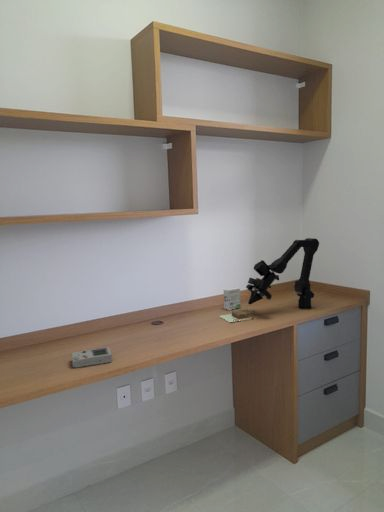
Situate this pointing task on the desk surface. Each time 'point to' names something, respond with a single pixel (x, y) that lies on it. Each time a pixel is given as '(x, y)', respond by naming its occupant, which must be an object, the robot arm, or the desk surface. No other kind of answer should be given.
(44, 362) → the desk surface
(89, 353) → the handheld gaming device
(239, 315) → the walnut plaque
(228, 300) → the ink box
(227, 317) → the green mat
